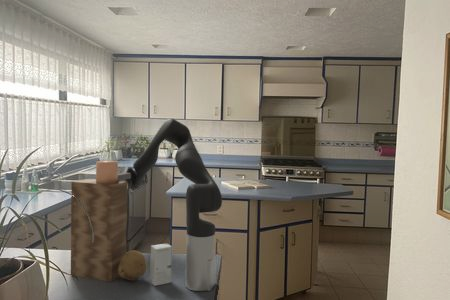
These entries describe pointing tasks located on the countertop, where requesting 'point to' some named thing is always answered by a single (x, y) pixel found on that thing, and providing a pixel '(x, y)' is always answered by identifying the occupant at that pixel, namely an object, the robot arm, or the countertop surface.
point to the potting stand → (98, 228)
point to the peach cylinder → (109, 172)
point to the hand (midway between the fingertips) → (96, 201)
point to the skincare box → (160, 264)
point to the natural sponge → (132, 265)
